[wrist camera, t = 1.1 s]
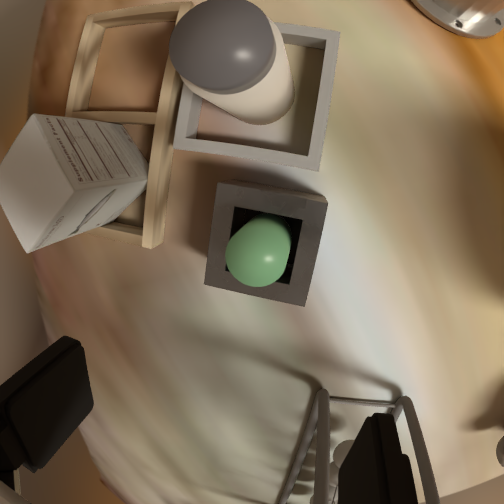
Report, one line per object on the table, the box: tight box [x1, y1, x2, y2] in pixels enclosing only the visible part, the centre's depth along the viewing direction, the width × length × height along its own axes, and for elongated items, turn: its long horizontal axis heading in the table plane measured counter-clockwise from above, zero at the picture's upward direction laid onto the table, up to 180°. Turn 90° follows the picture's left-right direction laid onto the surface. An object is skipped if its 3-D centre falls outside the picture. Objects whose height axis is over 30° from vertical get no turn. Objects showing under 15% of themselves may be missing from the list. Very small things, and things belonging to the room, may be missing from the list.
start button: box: [225, 213, 292, 287], centre depth 24 cm, size 4×4×6 cm
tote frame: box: [173, 22, 340, 172], centre depth 24 cm, size 12×12×2 cm
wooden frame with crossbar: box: [65, 2, 195, 249], centre depth 27 cm, size 23×12×2 cm, turn 171°
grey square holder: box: [204, 179, 328, 307], centre depth 26 cm, size 8×8×5 cm
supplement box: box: [0, 113, 149, 253], centre depth 24 cm, size 7×7×13 cm
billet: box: [169, 0, 295, 125], centre depth 19 cm, size 6×6×13 cm
